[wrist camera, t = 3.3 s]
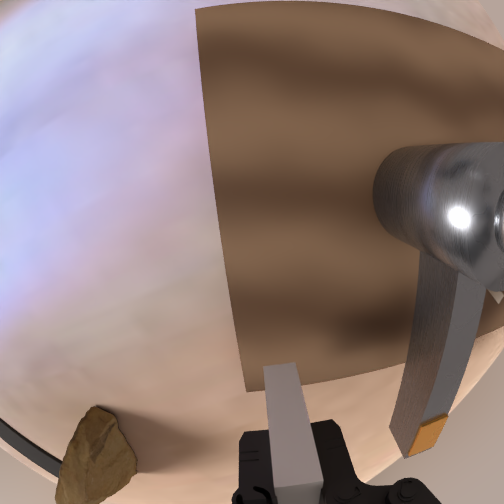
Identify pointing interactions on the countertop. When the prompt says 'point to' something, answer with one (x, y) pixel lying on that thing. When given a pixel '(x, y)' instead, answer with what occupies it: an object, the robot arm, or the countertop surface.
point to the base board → (329, 171)
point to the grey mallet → (442, 268)
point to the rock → (95, 461)
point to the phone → (29, 449)
